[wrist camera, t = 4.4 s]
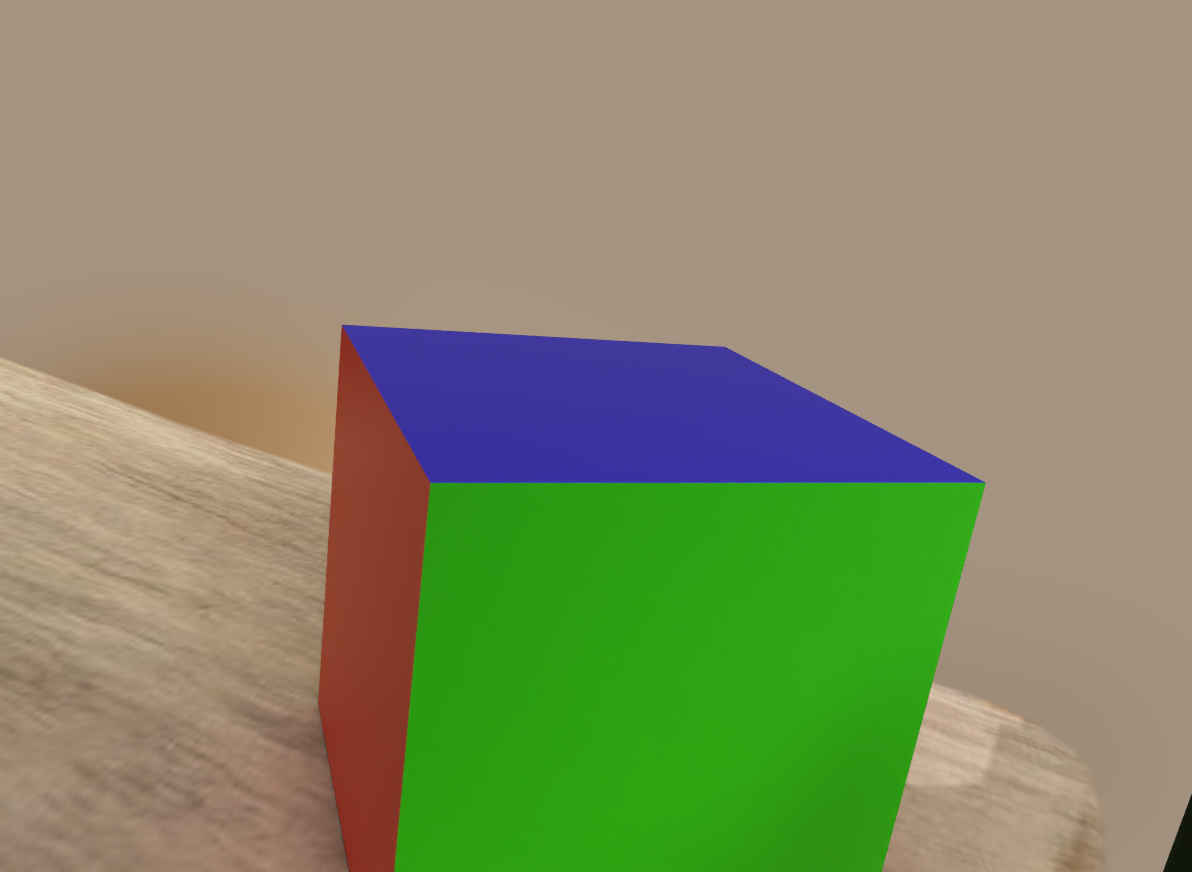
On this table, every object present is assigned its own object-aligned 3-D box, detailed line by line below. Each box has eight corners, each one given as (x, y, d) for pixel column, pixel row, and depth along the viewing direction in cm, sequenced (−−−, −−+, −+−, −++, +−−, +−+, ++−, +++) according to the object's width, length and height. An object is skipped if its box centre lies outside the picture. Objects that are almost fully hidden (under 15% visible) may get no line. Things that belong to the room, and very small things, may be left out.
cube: (318, 703, 21) (341, 325, 18) (666, 675, 24) (725, 347, 21) (379, 1032, 13) (430, 483, 11) (865, 932, 16) (985, 483, 14)
